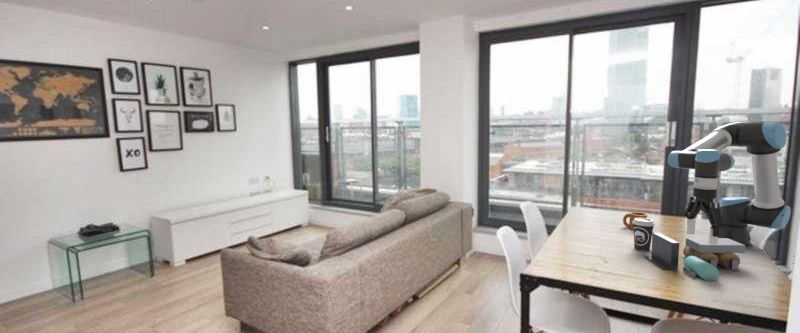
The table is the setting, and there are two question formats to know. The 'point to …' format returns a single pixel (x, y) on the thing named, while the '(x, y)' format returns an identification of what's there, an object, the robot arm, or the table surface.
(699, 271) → the roller
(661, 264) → the block
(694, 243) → the slab
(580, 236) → the table surface
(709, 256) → the roller
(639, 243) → the coffee cup
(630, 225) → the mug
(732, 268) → the roller bed
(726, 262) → the roller
